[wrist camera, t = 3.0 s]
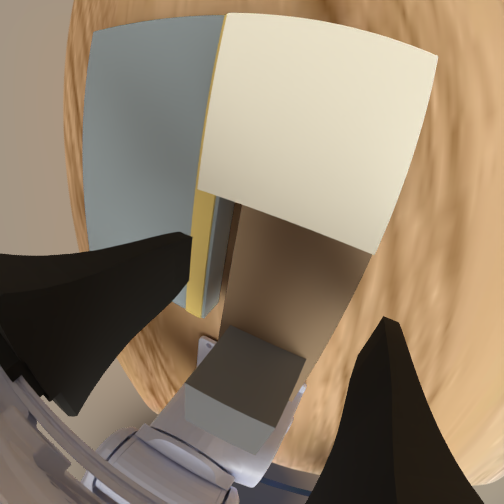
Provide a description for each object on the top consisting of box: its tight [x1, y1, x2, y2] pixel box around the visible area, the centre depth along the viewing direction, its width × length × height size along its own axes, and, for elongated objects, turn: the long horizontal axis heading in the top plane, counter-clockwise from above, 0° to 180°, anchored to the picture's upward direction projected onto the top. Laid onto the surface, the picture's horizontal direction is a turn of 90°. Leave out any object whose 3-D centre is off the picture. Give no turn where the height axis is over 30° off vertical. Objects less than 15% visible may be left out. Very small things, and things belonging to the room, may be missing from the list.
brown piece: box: [218, 205, 372, 402], centre depth 13 cm, size 5×16×5 cm, turn 169°
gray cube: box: [185, 325, 306, 455], centre depth 13 cm, size 4×4×4 cm
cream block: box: [197, 13, 438, 255], centre depth 6 cm, size 4×4×4 cm
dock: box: [83, 14, 235, 318], centre depth 17 cm, size 12×18×2 cm, turn 169°
